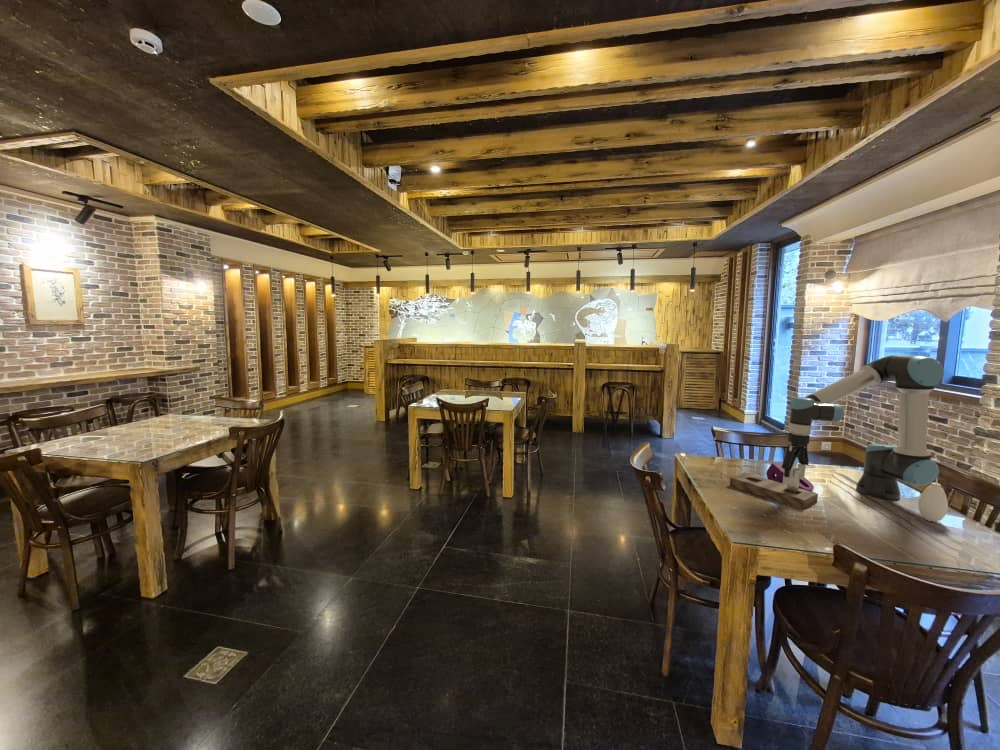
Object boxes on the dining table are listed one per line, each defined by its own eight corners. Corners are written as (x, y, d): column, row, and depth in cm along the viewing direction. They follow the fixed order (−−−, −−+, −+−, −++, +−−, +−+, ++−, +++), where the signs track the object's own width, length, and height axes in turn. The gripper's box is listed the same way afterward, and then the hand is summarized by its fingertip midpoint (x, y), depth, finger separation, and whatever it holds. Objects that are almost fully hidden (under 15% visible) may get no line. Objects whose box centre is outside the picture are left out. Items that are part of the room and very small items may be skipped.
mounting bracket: (808, 501, 194) (777, 474, 208) (818, 489, 190) (785, 461, 204) (794, 503, 191) (763, 475, 205) (804, 490, 187) (772, 462, 201)
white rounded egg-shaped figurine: (912, 517, 165) (918, 474, 164) (923, 515, 168) (929, 472, 166) (938, 526, 158) (945, 481, 156) (949, 524, 161) (956, 479, 159)
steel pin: (798, 500, 179) (802, 469, 178) (794, 502, 177) (798, 471, 175) (788, 497, 182) (791, 466, 181) (784, 499, 180) (787, 468, 179)
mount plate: (817, 502, 178) (818, 493, 177) (803, 509, 170) (804, 500, 170) (744, 480, 202) (745, 472, 202) (729, 485, 195) (730, 477, 194)
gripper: (801, 428, 186) (795, 474, 189) (776, 434, 173) (770, 483, 175) (821, 432, 180) (815, 479, 183) (796, 438, 166) (790, 489, 169)
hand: (793, 481), depth 179 cm, fingers open, 13 cm apart
